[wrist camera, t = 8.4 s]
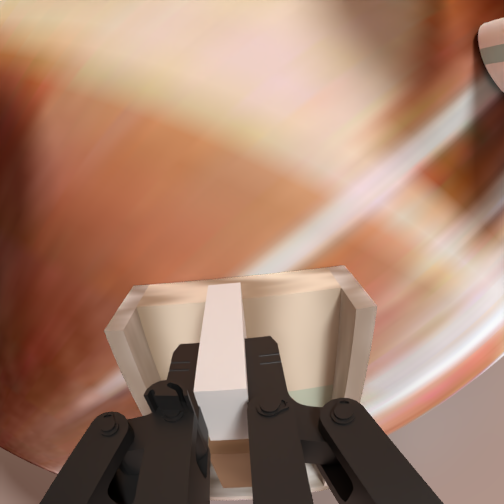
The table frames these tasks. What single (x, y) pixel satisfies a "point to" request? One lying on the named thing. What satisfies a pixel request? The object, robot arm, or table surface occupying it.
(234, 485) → the walnut block
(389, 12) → the table surface
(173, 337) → the wooden tray
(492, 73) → the can
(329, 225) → the table surface
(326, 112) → the table surface
